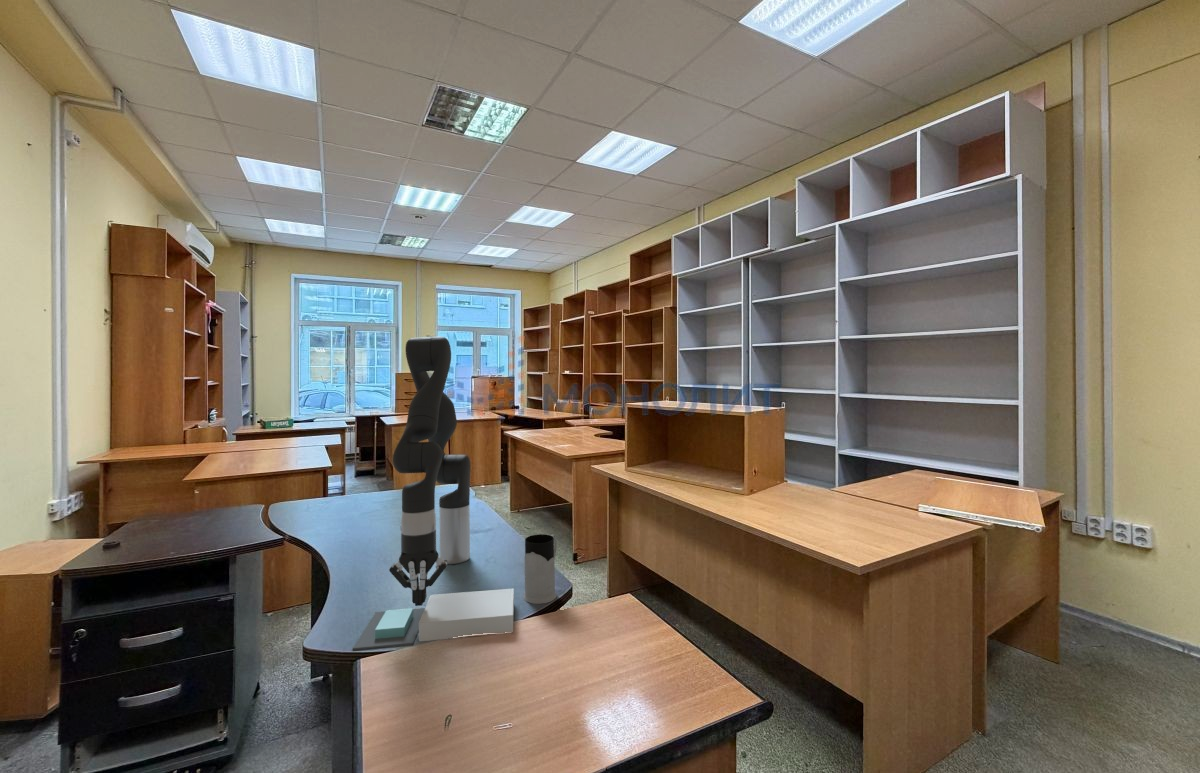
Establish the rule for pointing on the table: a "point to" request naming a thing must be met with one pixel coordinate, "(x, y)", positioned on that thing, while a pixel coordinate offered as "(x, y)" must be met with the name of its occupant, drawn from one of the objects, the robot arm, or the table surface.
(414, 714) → the table surface
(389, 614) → the teal rectangular box
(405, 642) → the mat
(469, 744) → the table surface
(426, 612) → the plate
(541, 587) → the glass holder
